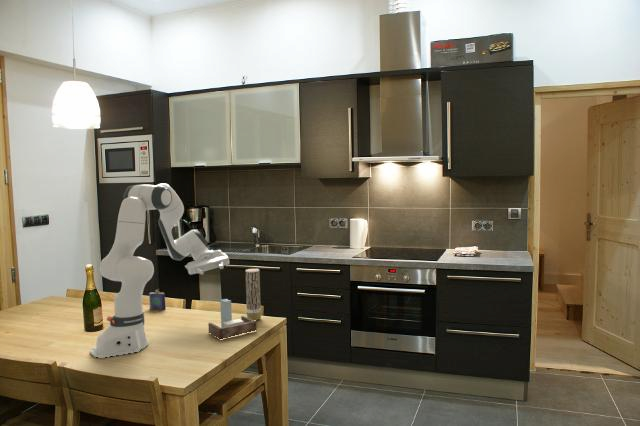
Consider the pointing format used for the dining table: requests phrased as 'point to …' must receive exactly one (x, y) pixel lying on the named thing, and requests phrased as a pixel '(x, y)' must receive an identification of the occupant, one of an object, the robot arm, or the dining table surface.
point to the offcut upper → (232, 323)
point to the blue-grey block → (225, 311)
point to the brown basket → (233, 328)
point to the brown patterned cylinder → (253, 294)
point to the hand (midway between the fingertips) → (212, 270)
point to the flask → (157, 300)
